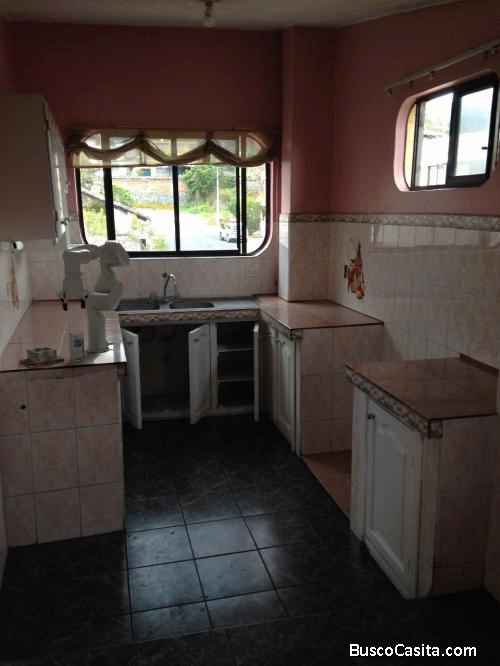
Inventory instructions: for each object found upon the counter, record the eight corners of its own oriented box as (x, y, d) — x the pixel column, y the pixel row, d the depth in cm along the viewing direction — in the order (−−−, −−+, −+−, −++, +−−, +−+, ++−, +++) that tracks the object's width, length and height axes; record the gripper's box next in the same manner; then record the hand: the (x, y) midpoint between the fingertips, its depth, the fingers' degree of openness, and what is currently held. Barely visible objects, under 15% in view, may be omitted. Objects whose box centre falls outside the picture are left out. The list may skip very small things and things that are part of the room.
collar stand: (53, 357, 310) (52, 344, 309) (64, 361, 302) (63, 348, 301) (19, 362, 298) (18, 350, 296) (30, 367, 290) (29, 354, 288)
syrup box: (73, 362, 301) (72, 333, 298) (69, 359, 306) (68, 331, 303) (84, 360, 304) (83, 332, 301) (80, 358, 309) (79, 330, 306)
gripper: (84, 273, 305) (86, 306, 308) (52, 276, 293) (54, 310, 296) (92, 275, 299) (93, 308, 303) (60, 277, 287) (62, 312, 291)
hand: (74, 309), depth 300 cm, fingers open, 9 cm apart
